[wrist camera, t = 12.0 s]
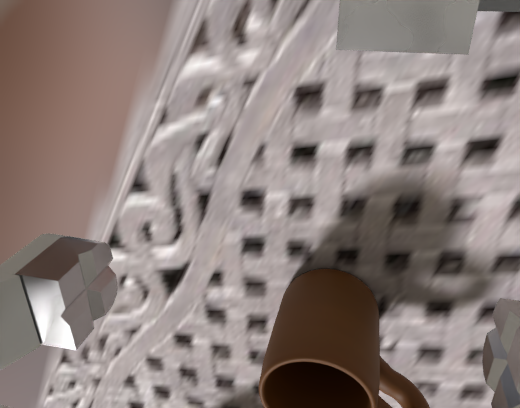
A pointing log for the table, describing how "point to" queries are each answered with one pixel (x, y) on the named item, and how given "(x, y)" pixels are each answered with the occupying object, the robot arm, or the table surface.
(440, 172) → the table surface
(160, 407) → the table surface
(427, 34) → the silver metal block
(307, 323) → the mug
